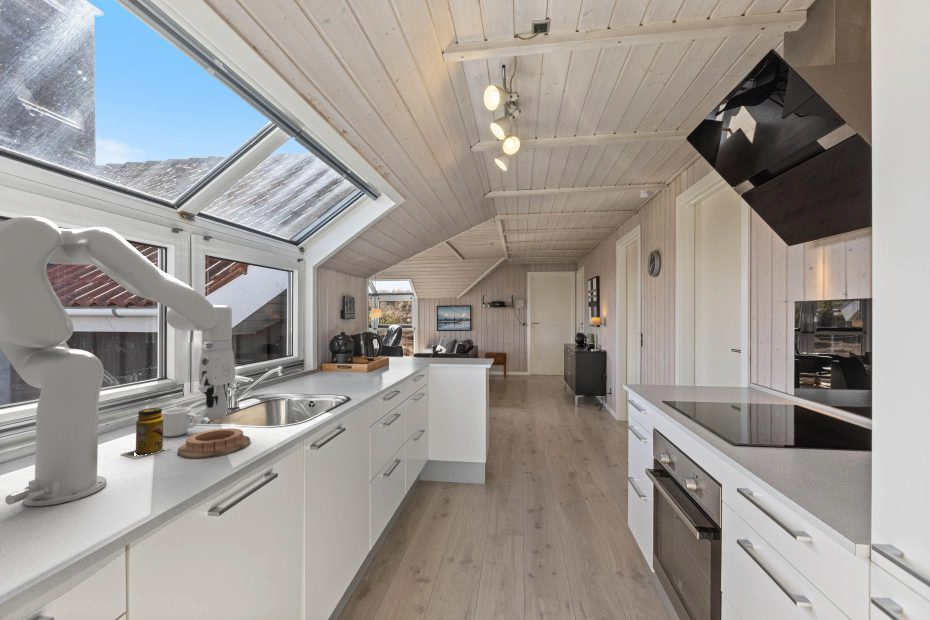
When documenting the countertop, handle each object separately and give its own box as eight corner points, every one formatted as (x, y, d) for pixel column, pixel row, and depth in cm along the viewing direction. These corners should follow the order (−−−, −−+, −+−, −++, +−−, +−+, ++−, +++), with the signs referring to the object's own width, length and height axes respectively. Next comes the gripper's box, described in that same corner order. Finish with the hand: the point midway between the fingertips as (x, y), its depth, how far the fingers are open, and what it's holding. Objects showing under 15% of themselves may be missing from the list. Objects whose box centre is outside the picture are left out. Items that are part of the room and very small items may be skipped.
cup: (204, 430, 129) (204, 407, 129) (189, 438, 121) (189, 413, 121) (171, 431, 128) (171, 407, 129) (153, 438, 120) (154, 413, 121)
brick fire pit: (224, 459, 104) (224, 446, 104) (160, 457, 104) (160, 445, 104) (262, 438, 122) (262, 427, 122) (207, 437, 122) (208, 426, 122)
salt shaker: (218, 421, 110) (219, 376, 110) (199, 420, 110) (200, 376, 110) (232, 415, 116) (232, 373, 116) (213, 415, 116) (214, 373, 116)
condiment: (169, 449, 111) (170, 408, 111) (135, 459, 103) (136, 415, 104) (155, 445, 114) (155, 405, 114) (120, 455, 106) (121, 412, 106)
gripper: (209, 349, 105) (209, 415, 105) (246, 344, 121) (245, 401, 121) (183, 348, 105) (182, 415, 105) (223, 344, 122) (223, 401, 122)
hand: (216, 407), depth 113 cm, fingers closed on salt shaker, 3 cm apart
